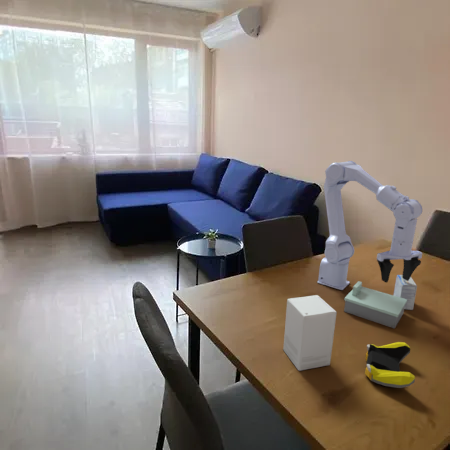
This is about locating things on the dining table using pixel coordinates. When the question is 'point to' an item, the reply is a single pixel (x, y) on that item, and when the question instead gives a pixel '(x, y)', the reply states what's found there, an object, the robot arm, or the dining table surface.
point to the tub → (372, 314)
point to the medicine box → (405, 291)
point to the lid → (376, 300)
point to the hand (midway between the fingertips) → (395, 280)
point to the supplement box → (309, 332)
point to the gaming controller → (388, 365)
